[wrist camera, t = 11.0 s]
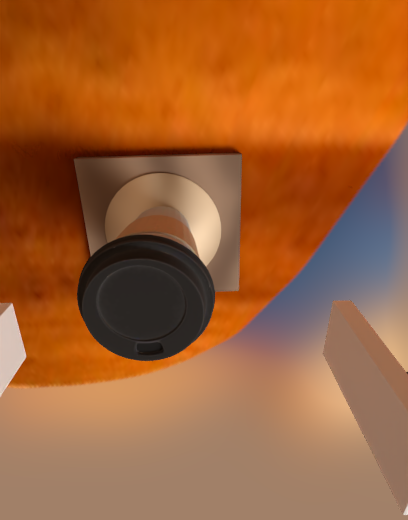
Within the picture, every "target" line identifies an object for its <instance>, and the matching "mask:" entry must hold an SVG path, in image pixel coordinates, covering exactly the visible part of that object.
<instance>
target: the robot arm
mask: <svg viewBox="0 0 408 520" xmlns="http://www.w3.org/2000/svg"><path fill="white" fill-rule="evenodd" d="M323 354H324V356H325V359H326V361H327V363H328V365H329V367H330V369H331V371H332V373H333V375H334V377H335V379H336V381H337V383H338V385H339V387H340V389H341V391H342V392H343V395H344V397H345V399H346V401H347V402H348V405H349V407H350V409H351V411H352V413H353V415H354V417H355V419H356V421H357V423H358V425H359V427H360V429H361V431H362V433H363V435H364V437H365V439H366V441H367V443H368V445H369V447H370V449H371V451H372V453H373V455H374V457H375V459H376V461H377V463H378V465H379V467H380V469H381V471H382V473H383V475H384V477H385V479H386V481H387V483H388V485H389V487H390V489H391V491H392V493H393V495H394V497H395V499H396V501H397V504H398V506H399V507H400V510H401V512H402V514H403V515H408V372H405V370H404V369H403V368H402V366H401V365H400V364H399V362H398V361H397V360H396V358H395V357H394V356H393V355H392V353H391V352H390V351H389V349H388V348H387V347H386V345H385V344H384V343H383V342H382V340H381V339H380V338H379V336H378V335H377V334H376V332H375V331H374V330H373V328H372V327H371V326H370V324H369V323H368V322H367V321H366V319H365V318H364V317H363V315H362V314H361V313H360V311H359V310H358V309H357V307H356V306H355V305H354V303H353V302H352V301H333V303H332V309H331V314H330V319H329V325H328V330H327V335H326V341H325V346H324V351H323ZM25 358H26V353H25V349H24V346H23V342H22V338H21V334H20V331H19V327H18V323H17V319H16V316H15V312H14V308H13V304H12V303H0V396H1V395H2V393H3V392H4V390H5V389H6V387H7V386H8V384H9V383H10V381H11V380H12V378H13V376H14V375H15V373H16V372H17V370H18V369H19V367H20V366H21V364H22V363H23V361H24V360H25Z"/></svg>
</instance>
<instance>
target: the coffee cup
mask: <svg viewBox="0 0 408 520" xmlns="http://www.w3.org/2000/svg"><path fill="white" fill-rule="evenodd" d="M77 300H78V306H79V310H80V313H81V316H82V318H83V320H84V322H85V324H86V326H87V328H88V330H89V331H90V333H91V334H92V336H93V337H94V338H95V339H96V340H97V341H98V342H99V343H100V344H101V345H102V346H103V347H105V348H106V349H108V350H109V351H111V352H113V353H115V354H117V355H119V356H122V357H125V358H128V359H133V360H140V361H153V360H160V359H164V358H168V357H171V356H173V355H175V354H177V353H179V352H181V351H183V350H184V349H185V348H187V347H188V346H189V345H190V344H191V343H192V342H194V341H195V340H196V339H197V338H198V337H199V336H200V335H201V334H202V333H203V331H204V330H205V328H206V327H207V325H208V323H209V321H210V318H211V316H212V312H213V308H214V303H215V289H214V284H213V280H212V278H211V275H210V273H209V271H208V269H207V268H206V266H205V265H204V263H203V262H202V261H201V259H200V257H199V254H198V250H197V246H196V243H195V240H194V237H193V235H192V233H191V230H190V227H189V224H188V221H187V219H186V218H185V217H184V215H183V214H182V213H181V212H179V211H178V210H176V209H174V208H171V207H165V206H159V207H153V208H150V209H148V210H146V211H144V212H143V213H141V214H140V215H139V216H138V218H137V219H136V220H135V221H133V222H132V223H130V224H129V225H128V226H127V227H126V228H125V229H124V230H123V231H122V232H121V233H120V235H119V236H118V237H117V238H116V239H115V240H113V241H111V242H109V243H107V244H105V245H104V246H102V247H101V248H100V249H98V250H97V251H96V252H95V253H94V254H93V255H92V256H91V257H90V258H89V260H88V261H87V263H86V264H85V266H84V268H83V270H82V272H81V276H80V279H79V284H78V291H77Z"/></svg>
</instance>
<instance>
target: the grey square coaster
mask: <svg viewBox="0 0 408 520" xmlns="http://www.w3.org/2000/svg"><path fill="white" fill-rule="evenodd" d="M74 164H75V169H76V175H77V181H78V186H79V192H80V198H81V203H82V209H83V215H84V220H85V226H86V232H87V237H88V243H89V249H90V254H91V256H92V255H93V254H94V253H95V252H96V251H97V250H98V249H100V248H101V247H102V246H104V245H105V244H107V243H109V242H111V241H113V240H115V239H116V238H117V237H118V236H119V235H120V233H121V232H122V231H123V230H124V229H125V228H126V227H127V226H128V225H129V224H130V223H132V222H133V221H135V220H136V219H137V218H138V216H139V215H140V214H141V213H143V212H144V211H146V210H148V209H150V208H153V207H159V206H165V207H171V208H174V209H176V210H178V211H179V212H181V213H182V214H183V215H184V217H185V218H186V219H187V221H188V224H189V227H190V230H191V233H192V235H193V237H194V240H195V243H196V246H197V250H198V254H199V257H200V259H201V261H202V262H203V263H204V265H205V266H206V268H207V269H208V271H209V273H210V275H211V278H212V280H213V284H214V289H215V292H216V291H239V258H240V214H241V170H242V154H241V153H211V154H175V155H138V156H101V157H77V158H75V159H74Z"/></svg>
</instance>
